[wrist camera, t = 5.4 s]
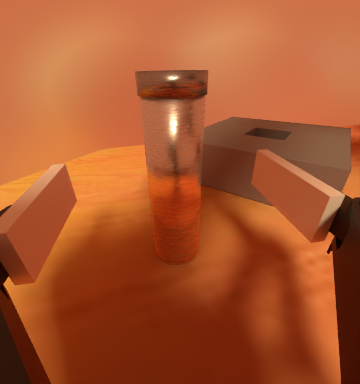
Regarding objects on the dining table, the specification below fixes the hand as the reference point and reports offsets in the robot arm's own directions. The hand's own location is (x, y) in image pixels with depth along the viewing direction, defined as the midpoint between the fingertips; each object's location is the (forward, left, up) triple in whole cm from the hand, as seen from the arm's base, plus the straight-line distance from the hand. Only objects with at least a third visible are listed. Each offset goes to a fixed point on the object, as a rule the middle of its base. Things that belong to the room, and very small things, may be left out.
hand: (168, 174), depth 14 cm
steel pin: (-1, 0, -8) cm, 8 cm away
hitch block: (-23, +1, -8) cm, 24 cm away
